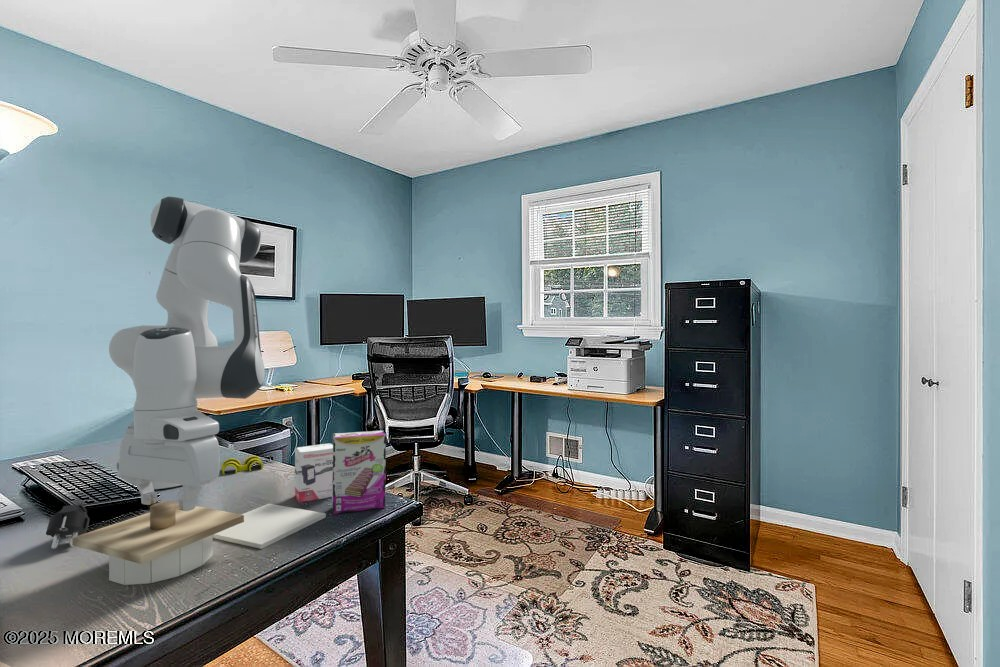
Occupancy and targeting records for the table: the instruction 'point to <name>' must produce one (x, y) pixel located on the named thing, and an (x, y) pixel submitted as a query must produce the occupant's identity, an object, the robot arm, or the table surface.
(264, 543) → the mat
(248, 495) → the table surface
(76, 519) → the power plug
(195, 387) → the robot arm
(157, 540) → the lid
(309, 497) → the ink box
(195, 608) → the table surface
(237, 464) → the opera glasses
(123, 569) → the bowl
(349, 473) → the candy bar box
